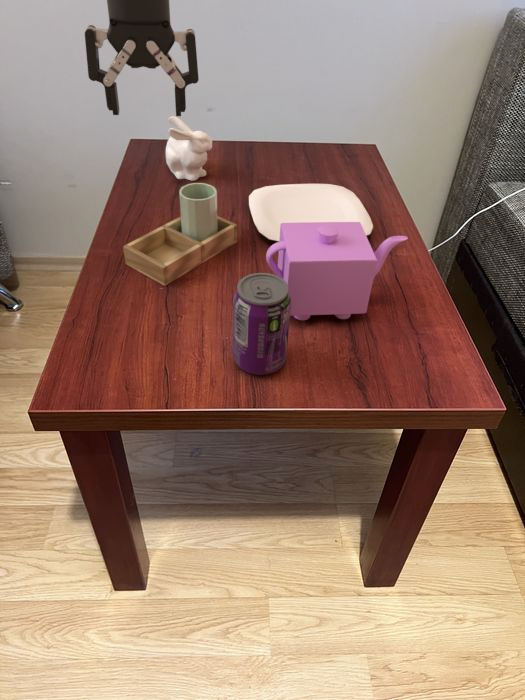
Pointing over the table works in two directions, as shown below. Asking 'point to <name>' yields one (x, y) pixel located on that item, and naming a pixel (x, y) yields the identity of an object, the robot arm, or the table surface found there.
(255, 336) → the beverage can
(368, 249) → the teapot
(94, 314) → the table surface
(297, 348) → the table surface
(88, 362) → the table surface
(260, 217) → the plate
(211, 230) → the cup
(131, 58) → the robot arm
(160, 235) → the holder
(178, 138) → the rabbit
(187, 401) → the table surface
